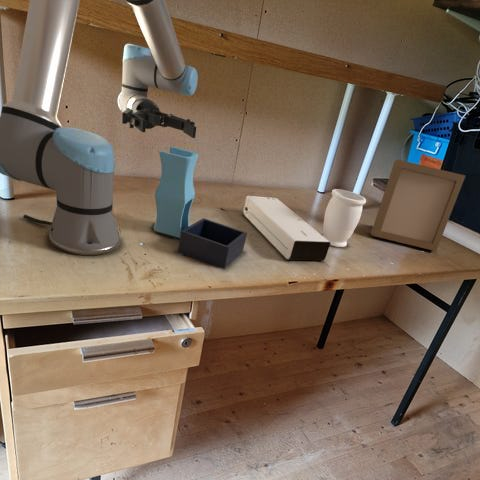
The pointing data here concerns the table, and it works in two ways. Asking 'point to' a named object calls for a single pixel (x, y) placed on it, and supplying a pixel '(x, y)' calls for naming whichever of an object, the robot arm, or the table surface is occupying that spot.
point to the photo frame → (417, 204)
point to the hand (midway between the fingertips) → (170, 129)
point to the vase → (175, 191)
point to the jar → (342, 216)
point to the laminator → (285, 229)
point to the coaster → (168, 235)
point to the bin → (212, 242)
